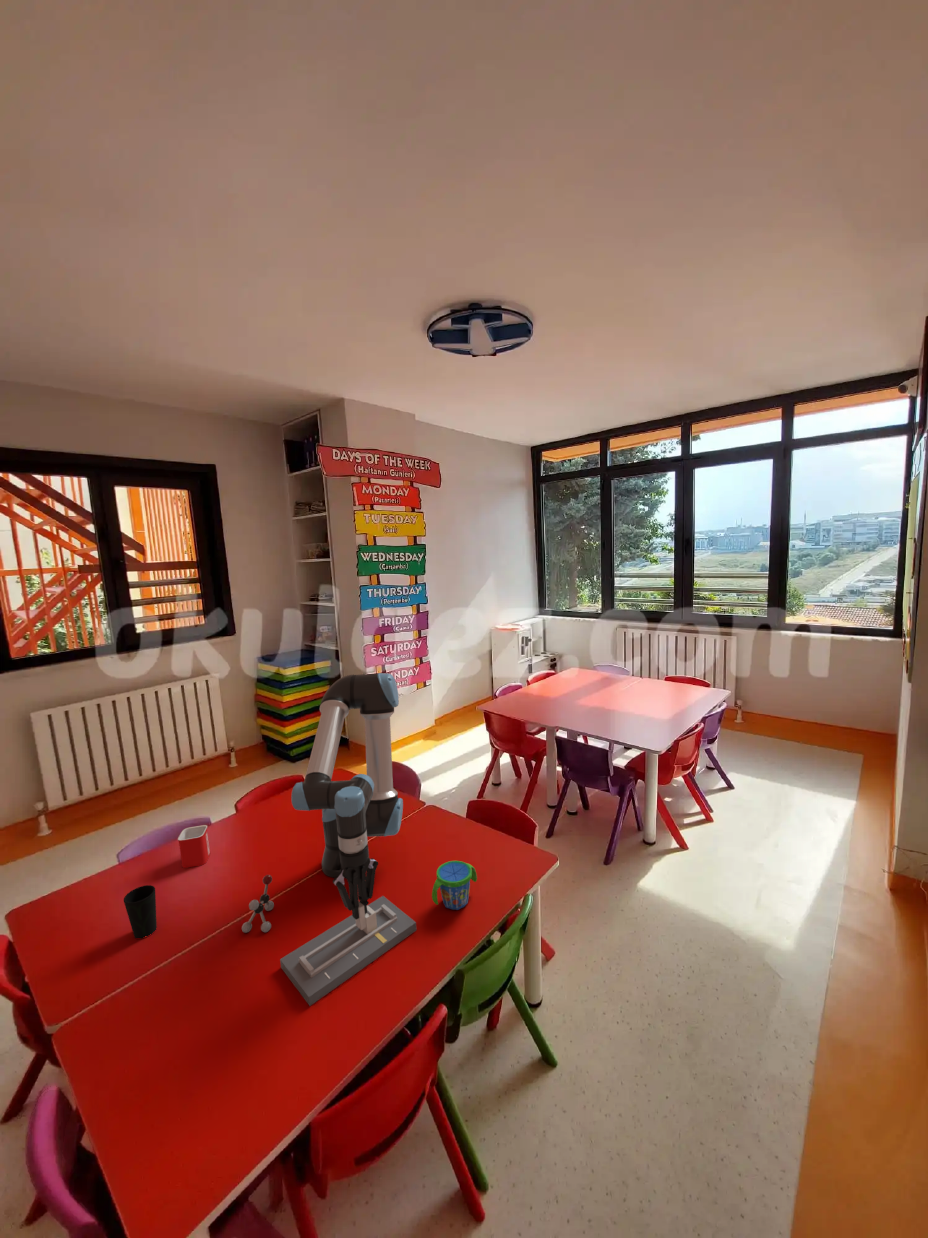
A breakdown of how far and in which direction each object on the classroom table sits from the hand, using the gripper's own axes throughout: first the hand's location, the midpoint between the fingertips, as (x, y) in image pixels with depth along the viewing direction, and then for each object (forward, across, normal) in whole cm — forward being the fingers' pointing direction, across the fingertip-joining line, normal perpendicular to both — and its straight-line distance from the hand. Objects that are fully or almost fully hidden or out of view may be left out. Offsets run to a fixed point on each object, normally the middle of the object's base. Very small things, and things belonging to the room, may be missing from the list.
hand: (361, 926), depth 136 cm
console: (+4, -4, 0) cm, 6 cm away
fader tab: (+2, +2, 0) cm, 3 cm away
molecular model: (+5, -16, +29) cm, 33 cm away
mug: (+5, -20, +78) cm, 81 cm away
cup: (+5, -42, +50) cm, 65 cm away
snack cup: (+5, +28, -8) cm, 29 cm away
